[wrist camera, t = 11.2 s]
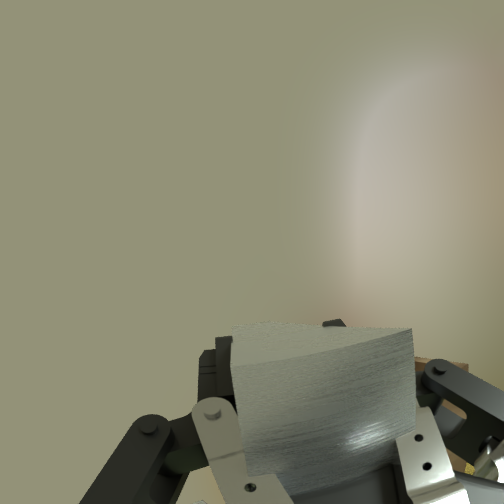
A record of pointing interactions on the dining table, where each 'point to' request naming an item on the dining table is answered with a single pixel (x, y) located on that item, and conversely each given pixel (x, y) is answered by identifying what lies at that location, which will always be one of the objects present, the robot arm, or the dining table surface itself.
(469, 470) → the dining table surface
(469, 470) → the dining table surface
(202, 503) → the skincare box
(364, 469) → the bar
